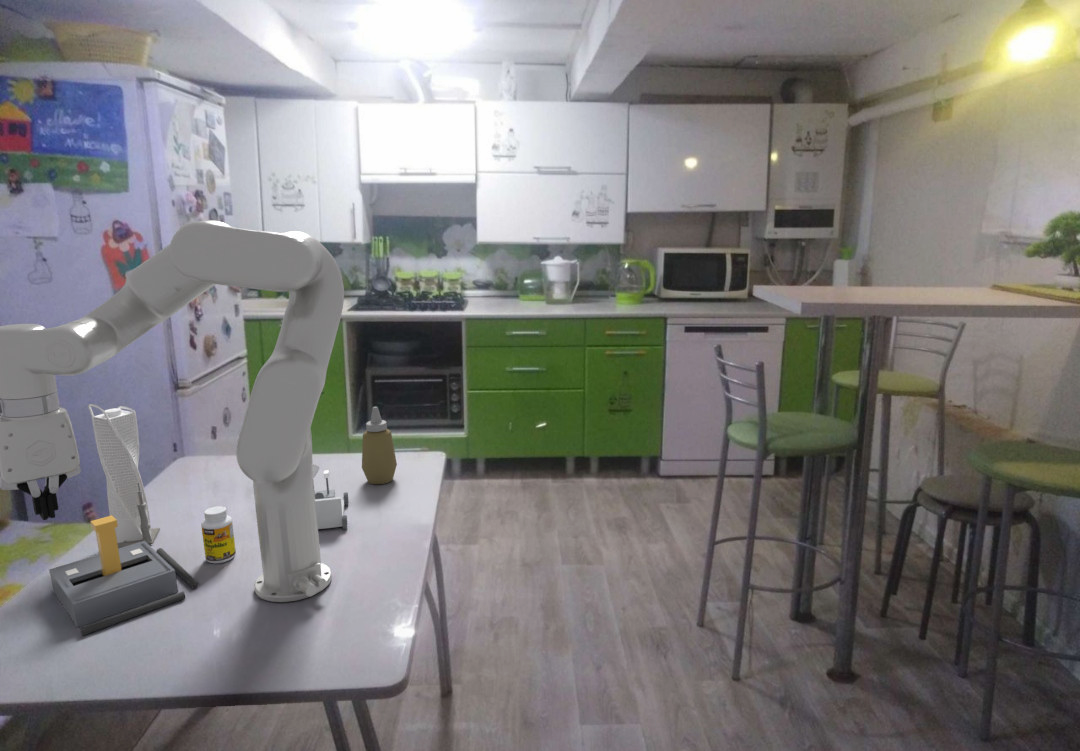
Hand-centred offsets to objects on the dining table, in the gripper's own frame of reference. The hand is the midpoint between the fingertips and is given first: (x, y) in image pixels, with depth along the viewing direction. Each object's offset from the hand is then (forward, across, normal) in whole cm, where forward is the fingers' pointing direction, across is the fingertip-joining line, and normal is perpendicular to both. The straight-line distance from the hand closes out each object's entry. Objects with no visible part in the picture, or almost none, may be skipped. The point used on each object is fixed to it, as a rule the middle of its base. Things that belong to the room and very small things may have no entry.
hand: (47, 516), depth 116 cm
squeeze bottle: (+15, +67, +10) cm, 70 cm away
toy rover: (+16, +48, +3) cm, 50 cm away
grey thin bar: (+16, +8, -12) cm, 21 cm away
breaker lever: (+13, +8, 0) cm, 15 cm away
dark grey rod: (+16, +18, 0) cm, 24 cm away
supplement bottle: (+16, +25, -2) cm, 30 cm away
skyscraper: (+16, +16, +20) cm, 30 cm away
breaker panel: (+16, +8, 0) cm, 18 cm away
